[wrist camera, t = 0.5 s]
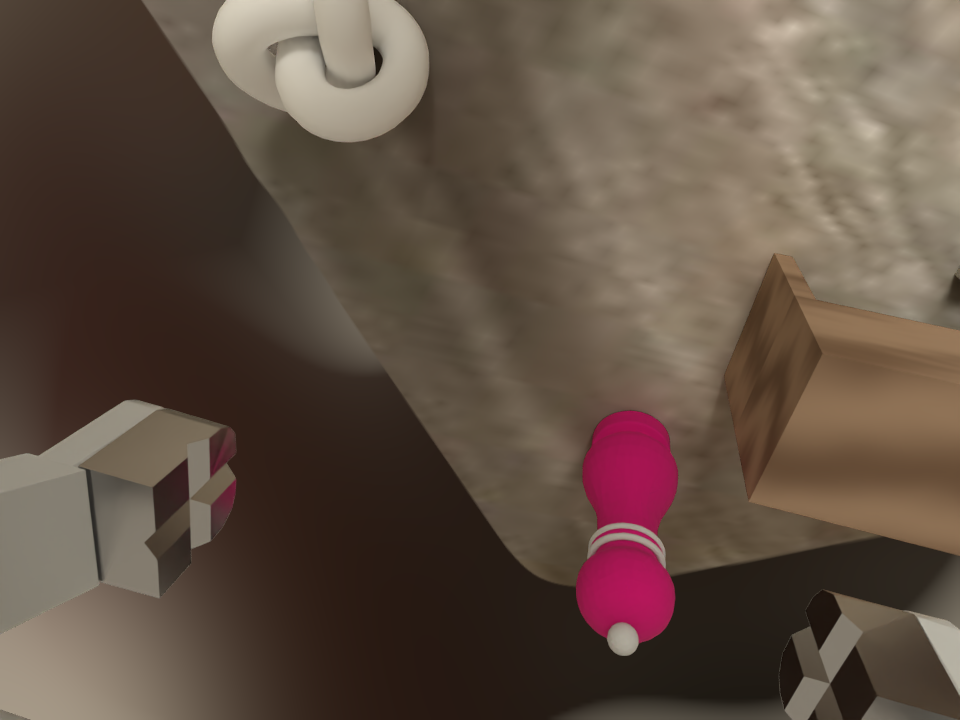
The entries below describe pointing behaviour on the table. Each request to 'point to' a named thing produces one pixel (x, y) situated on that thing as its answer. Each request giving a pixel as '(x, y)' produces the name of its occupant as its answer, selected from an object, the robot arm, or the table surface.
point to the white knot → (326, 61)
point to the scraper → (958, 273)
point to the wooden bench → (848, 414)
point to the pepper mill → (628, 530)
